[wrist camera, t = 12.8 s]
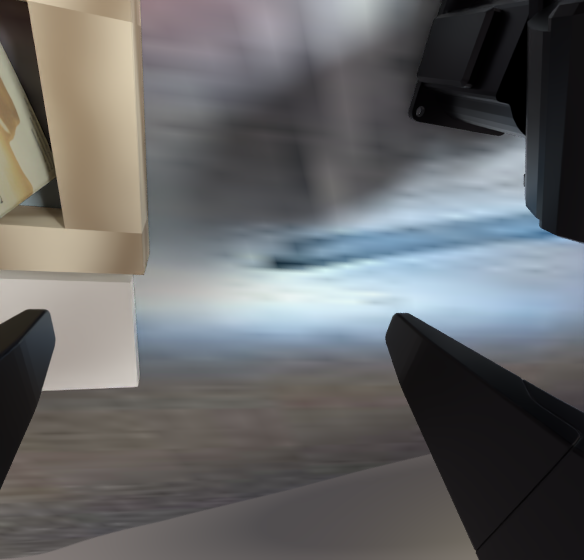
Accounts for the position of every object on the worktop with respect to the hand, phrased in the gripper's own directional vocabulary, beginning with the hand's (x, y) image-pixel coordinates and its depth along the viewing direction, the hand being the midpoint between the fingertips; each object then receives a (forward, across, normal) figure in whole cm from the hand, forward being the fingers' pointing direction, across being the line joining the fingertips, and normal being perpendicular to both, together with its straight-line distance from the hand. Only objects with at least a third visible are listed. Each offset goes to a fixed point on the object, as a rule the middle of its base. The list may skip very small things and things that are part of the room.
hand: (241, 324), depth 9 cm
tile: (+13, +11, +11) cm, 20 cm away
